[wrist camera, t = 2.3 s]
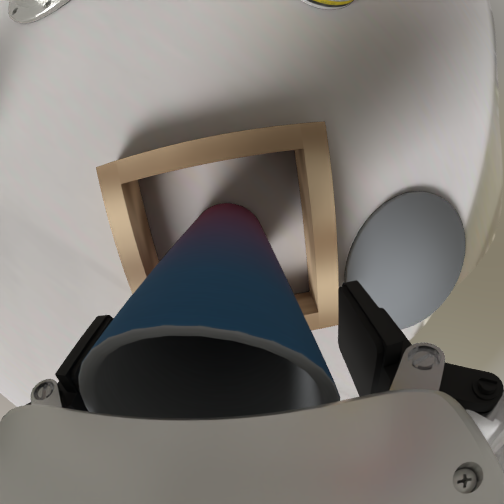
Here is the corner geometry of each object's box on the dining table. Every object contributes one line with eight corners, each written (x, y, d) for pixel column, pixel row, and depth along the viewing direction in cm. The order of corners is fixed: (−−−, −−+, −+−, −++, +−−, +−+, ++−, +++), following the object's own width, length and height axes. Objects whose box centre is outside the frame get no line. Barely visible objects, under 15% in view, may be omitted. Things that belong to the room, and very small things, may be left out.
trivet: (341, 199, 19) (344, 201, 18) (465, 187, 19) (469, 188, 18) (343, 340, 24) (345, 344, 23) (450, 308, 23) (453, 311, 23)
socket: (115, 163, 17) (96, 167, 15) (312, 125, 17) (324, 121, 14) (164, 327, 22) (156, 350, 20) (327, 303, 22) (338, 324, 19)
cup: (292, 216, 19) (394, 378, 5) (248, 293, 22) (260, 484, 8) (204, 173, 18) (93, 263, 4) (167, 257, 20) (77, 430, 6)
